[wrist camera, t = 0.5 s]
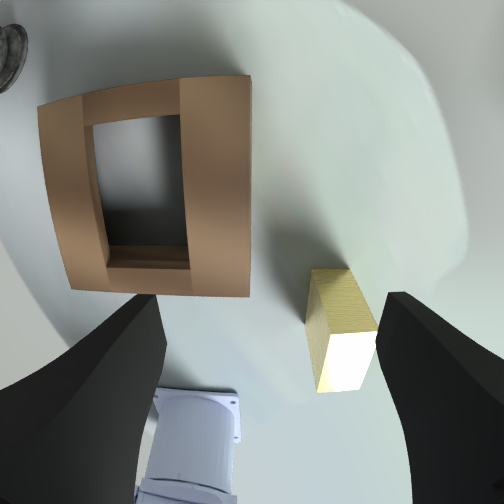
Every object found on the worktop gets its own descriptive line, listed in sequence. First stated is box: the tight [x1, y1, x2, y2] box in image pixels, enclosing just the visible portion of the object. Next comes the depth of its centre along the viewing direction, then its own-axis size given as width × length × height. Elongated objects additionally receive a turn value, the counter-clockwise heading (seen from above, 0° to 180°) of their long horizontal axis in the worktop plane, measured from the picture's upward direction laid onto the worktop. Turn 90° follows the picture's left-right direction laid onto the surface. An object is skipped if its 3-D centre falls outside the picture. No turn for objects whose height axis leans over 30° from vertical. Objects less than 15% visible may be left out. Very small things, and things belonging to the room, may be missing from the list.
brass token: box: [305, 269, 378, 392], centre depth 17 cm, size 4×2×6 cm, turn 0°
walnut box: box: [37, 75, 252, 297], centre depth 14 cm, size 10×10×4 cm
